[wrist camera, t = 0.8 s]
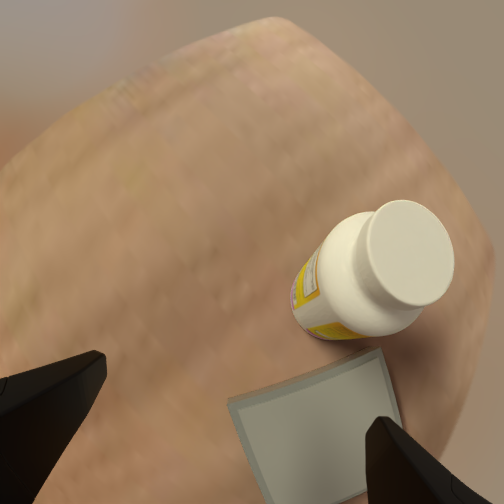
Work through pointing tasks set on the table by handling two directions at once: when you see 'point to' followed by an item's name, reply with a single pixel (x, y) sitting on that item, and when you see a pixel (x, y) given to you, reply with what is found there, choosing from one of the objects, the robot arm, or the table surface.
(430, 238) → the supplement bottle
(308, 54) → the table surface
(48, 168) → the table surface
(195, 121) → the table surface
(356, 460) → the slate base
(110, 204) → the table surface
